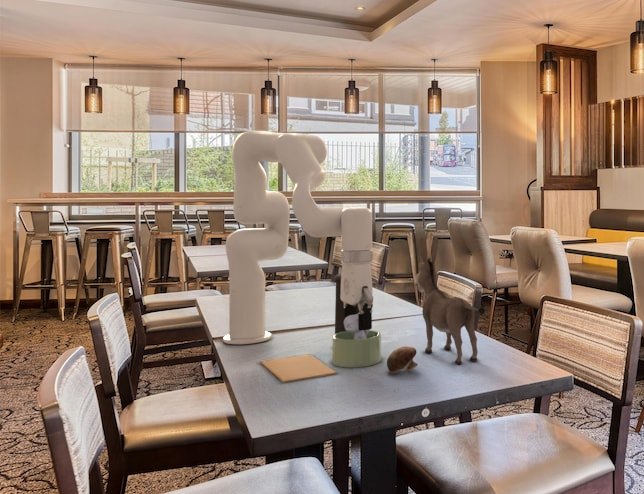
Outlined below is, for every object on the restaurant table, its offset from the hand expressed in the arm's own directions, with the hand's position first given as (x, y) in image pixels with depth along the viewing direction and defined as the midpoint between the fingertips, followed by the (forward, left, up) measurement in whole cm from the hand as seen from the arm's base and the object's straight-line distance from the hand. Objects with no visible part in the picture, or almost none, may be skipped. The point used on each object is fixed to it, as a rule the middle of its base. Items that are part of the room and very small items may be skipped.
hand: (357, 326), depth 154 cm
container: (-15, +4, -9) cm, 18 cm away
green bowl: (0, 0, -9) cm, 9 cm away
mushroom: (+15, +5, -9) cm, 18 cm away
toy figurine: (0, 0, -8) cm, 8 cm away
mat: (-2, -14, -9) cm, 17 cm away
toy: (+8, +21, -9) cm, 24 cm away
